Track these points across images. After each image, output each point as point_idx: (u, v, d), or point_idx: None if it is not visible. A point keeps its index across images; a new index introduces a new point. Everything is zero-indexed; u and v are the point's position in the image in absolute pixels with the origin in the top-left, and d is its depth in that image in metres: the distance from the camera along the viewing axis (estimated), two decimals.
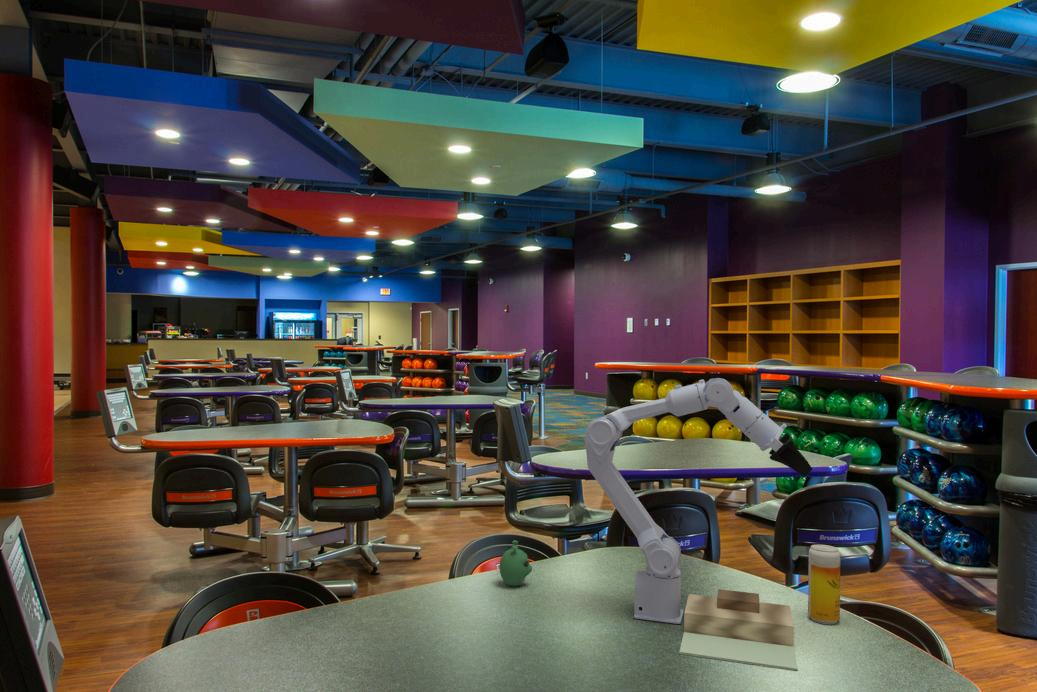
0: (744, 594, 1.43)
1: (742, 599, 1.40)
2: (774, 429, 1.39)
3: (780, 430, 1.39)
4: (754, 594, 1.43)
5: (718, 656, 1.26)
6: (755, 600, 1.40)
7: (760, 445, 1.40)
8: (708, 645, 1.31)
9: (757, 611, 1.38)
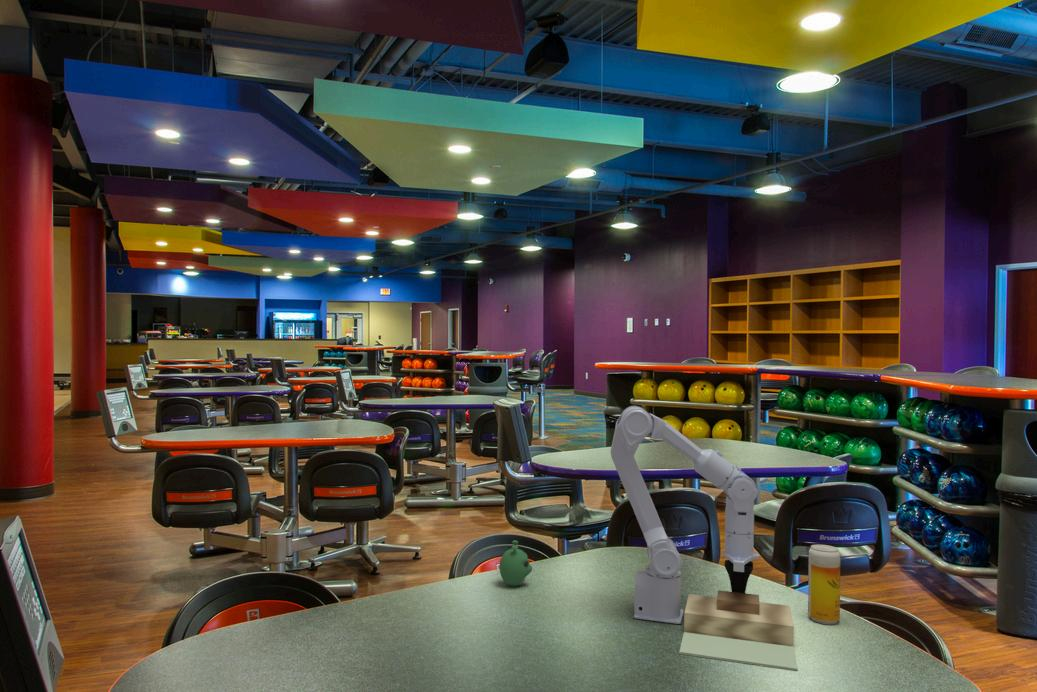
0: (744, 595, 1.43)
1: (742, 600, 1.39)
2: (748, 552, 1.43)
3: (751, 557, 1.43)
4: (754, 595, 1.43)
5: (718, 656, 1.26)
6: (755, 601, 1.39)
7: (726, 551, 1.45)
8: (708, 645, 1.31)
9: (757, 612, 1.37)
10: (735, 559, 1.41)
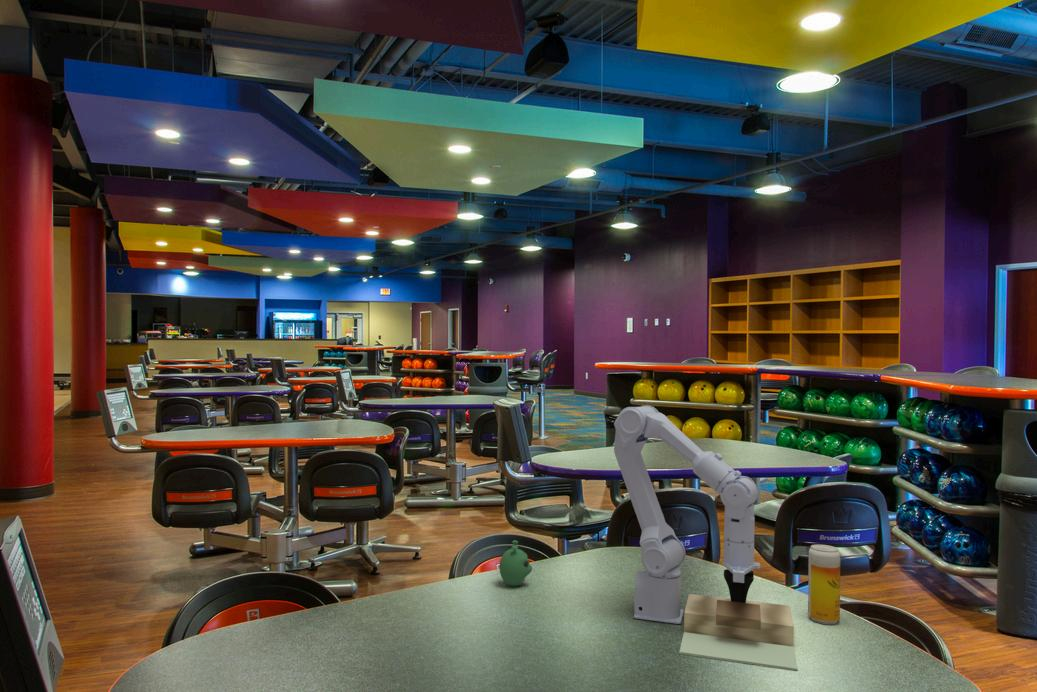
0: (744, 606, 1.35)
1: (742, 614, 1.32)
2: (748, 562, 1.36)
3: (752, 567, 1.36)
4: (755, 606, 1.35)
5: (718, 656, 1.26)
6: (756, 615, 1.32)
7: (726, 560, 1.38)
8: (708, 645, 1.31)
9: (758, 628, 1.31)
10: (735, 569, 1.34)
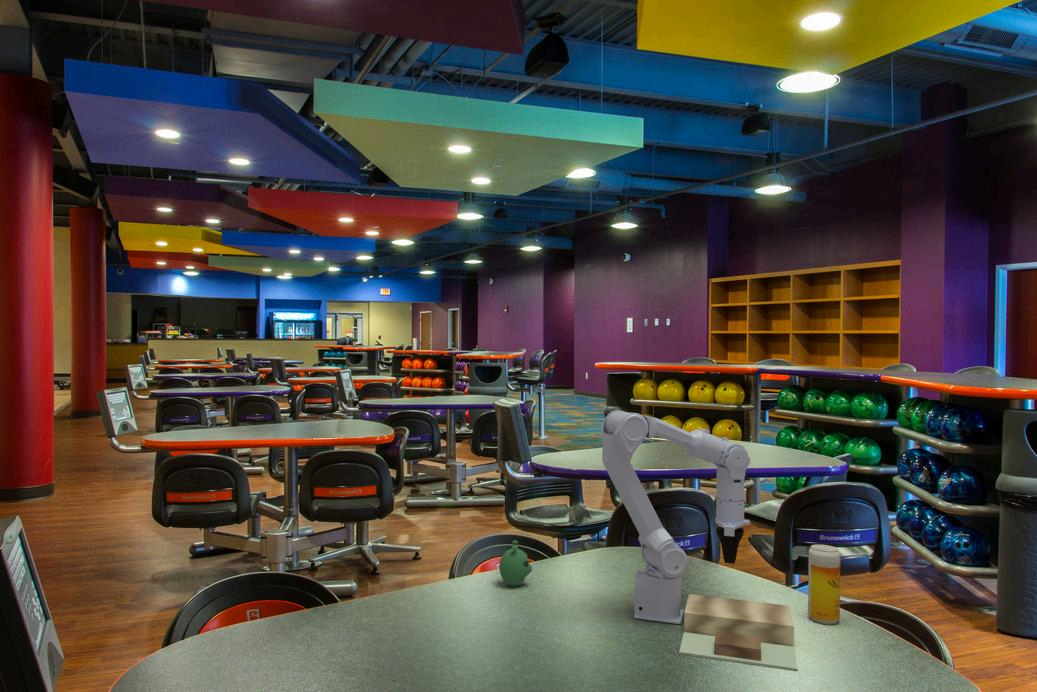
0: None
1: None
2: (738, 518, 1.48)
3: (742, 523, 1.48)
4: None
5: (718, 656, 1.26)
6: None
7: (718, 517, 1.50)
8: (708, 645, 1.31)
9: None
10: (726, 524, 1.47)
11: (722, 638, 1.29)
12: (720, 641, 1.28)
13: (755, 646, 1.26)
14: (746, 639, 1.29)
